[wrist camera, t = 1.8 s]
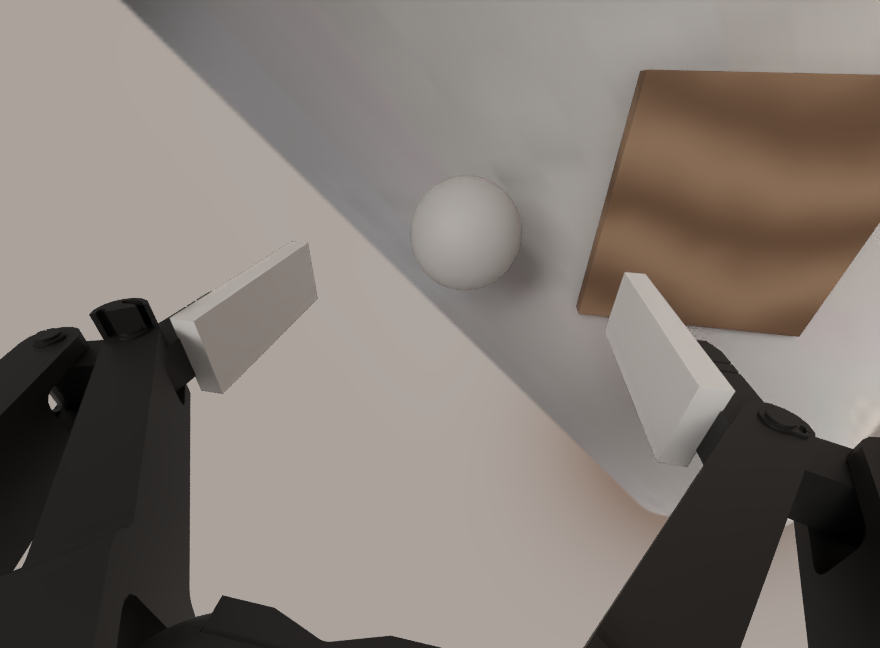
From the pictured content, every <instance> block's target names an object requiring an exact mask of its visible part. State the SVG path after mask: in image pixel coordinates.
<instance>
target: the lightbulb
mask: <svg viewBox="0 0 880 648" xmlns="http://www.w3.org/2000/svg"><path fill="white" fill-rule="evenodd" d="M521 233H522V232H521V222H520V217H519V214H518V211H517V208H516V206H515V204H514V203H513V201H512V199H511V198H510V197H509V195H508V194H507V193H506V192H505V191H504V190H503V189H502V188H500V187H499V186H497V185H496V184H495V183H493V182H491V181H488V180H486V179H484V178H480V177H475V176H457V177H453V178H449V179H447V180H444V181H442V182H440V183H438V184H437V185H435V186H434V187H433V188H431V189H430V190H429V191H428V192H427V193H426V195H425V196H424V197H423V198H422V199H421V200H420V202H419V204H418V205H417V207H416V209H415V212H414V215H413V218H412V223H411V231H410V237H411V245H412V249H413V253H414V255H415V258H416V260H417V262H418V264H419V265H420V267H421V268H422V269H423V271H424V272H425V273H426V274H427V275H428V276H429V277H430V278H431V279H433V280H434V281H436V282H437V283H439V284H441V285H443V286H446V287H448V288H452V289H457V290H472V289H478V288H481V287H484V286H487V285H488V284H490V283H492V282H494V281H496V280H497V279H498V278H499V277H501V276H502V275H503V274H504V273H505V272H506V271H507V270H508V268H509V267H510V266H511V264H512V263H513V261H514V259H515V257H516V255H517V253H518V250H519V247H520V244H521Z"/></svg>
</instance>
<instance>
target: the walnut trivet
mask: <svg viewBox="0 0 880 648" xmlns="http://www.w3.org/2000/svg"><path fill="white" fill-rule="evenodd" d="M879 223H880V75H859V74H814V73H769V72H724V71H679V70H643V71H640V74H639V78H638V82H637V85H636V89H635V93H634V96H633V100H632V104H631V107H630V111H629V115H628V118H627V122H626V126H625V129H624V133H623V137H622V140H621V144H620V148H619V151H618V155H617V159H616V162H615V166H614V170H613V173H612V177H611V181H610V184H609V188H608V192H607V196H606V199H605V203H604V207H603V210H602V214H601V218H600V221H599V225H598V229H597V232H596V236H595V240H594V243H593V247H592V251H591V254H590V258H589V262H588V265H587V269H586V273H585V276H584V280H583V284H582V287H581V291H580V295H579V298H578V302H577V306H576V307H577V310H578V313H579V314H587V315H597V316H606V317H610V314H611V311H612V308H613V305H614V302H615V299H616V296H617V293H618V290H619V287H620V284H621V281H622V278H623V275H624V272H629V273H640V274H646V275H647V277H648V278H649V279H650V281H651V282H652V283H653V284H654V286H655V287H656V288H657V290H658V291H659V292H660V294H661V295H662V296H663V298H664V299H665V300H666V301H667V303H668V304H669V305H670V307H671V308H672V309H673V311H674V312H675V313H676V314H677V316H678V317H679V318H680V320H681V321H682V322H683V324H684V325H692V326H702V327H712V328H721V329H731V330H740V331H750V332H759V333H769V334H779V335H788V336H798V337H799V336H800V335H801V333H802V332H803V330H804V329H805V328H806V326H807V325H808V323H809V322H810V321H811V319H812V318H813V316H814V315H815V313H816V312H817V311H818V309H819V308H820V306H821V305H822V304H823V302H824V301H825V299H826V298H827V296H828V295H829V294H830V292H831V291H832V289H833V288H834V287H835V285H836V284H837V282H838V281H839V279H840V278H841V277H842V275H843V274H844V272H845V271H846V269H847V268H848V267H849V265H850V264H851V262H852V261H853V260H854V258H855V257H856V255H857V254H858V252H859V251H860V250H861V248H862V247H863V245H864V244H865V243H866V241H867V240H868V238H869V237H870V235H871V234H872V233H873V231H874V230H875V228H876V227H877V225H878V224H879Z"/></svg>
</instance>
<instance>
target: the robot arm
mask: <svg viewBox="0 0 880 648" xmlns="http://www.w3.org/2000/svg"><path fill="white" fill-rule="evenodd" d="M317 299H318V297H317V291H316V286H315V280H314V275H313V269H312V263H311V257H310V251H309V246H308V243H304V242H294V241H291V242H290V243H288V244H287V245H285V246H283V247H282V248H280V249H279V250H277V251H276V252H274V253H272V254H271V255H269V256H268V257H266V258H265V259H263V260H261V261H260V262H258V263H256V264H255V265H253V266H252V267H250V268H248V269H247V270H245V271H244V272H242V273H240V274H239V275H237V276H236V277H234V278H233V279H231V280H229V281H228V282H226V283H224V284H223V285H221V286H220V287H218V288H216V289H215V290H213V291H211V292H208V293H207V294H205V295H203V296H202V297H200V298H199V299H197V301H194V302H192V303H191V304H189V305H187V307H184V308H183V309H181V310H179V311H178V312H176V313H175V314H173V315H171V316H170V317H168V318H167V319H165V320H163V321H162V322H160V323H158V322H157V320H156V318H155V316H154V314H153V312H152V310H151V307H150V305H149V303H148V301H147V300H144V299H142V298H129V299H122V300H117V301H113V302H110V303H107V304H104V305H102V306H100V307H98V308H96V309H95V310H93V311H92V312H91V313H90V314H89V315H90V317H91V319H92V320H93V322H94V323H95V325H96V327H97V329H98V331H99V332H100V334H101V336H102V337H103V339H104V340H98V341H86V340H85V338H84V337H83V335H82V333H81V332H80V330H79V329H78V328H74V327H61V328H52V329H47V330H46V331H45V330H44V331H40V332H38V333H37V334H35V335H33V336H31V337H29V338H27V339H25V340H24V341H22V342H21V343H19V344H18V345H17V346H16V347H15V348H13V349H12V350H11V351H10V352H9V353H7V354H6V355H5V356H4V357H3V358H2V359H0V648H440V647H436V646H432V645H427V644H423V643H419V642H415V641H411V640H407V639H402V638H398V637H394V636H384V637H374V638H364V639H354V640H345V641H335V642H325V641H322V640H320V639H318V638H317V637H315V636H314V635H313V634H311V633H309V632H308V631H307V630H305V629H304V628H303V627H301V626H300V625H298V624H297V623H296V622H294V621H293V620H291V619H290V618H288V617H287V616H286V615H284V614H283V613H281V612H280V611H278V610H277V609H275V608H273V607H268V606H264V605H260V604H256V603H252V602H248V601H244V600H239V599H235V598H231V597H227V596H223V595H222V597H221V599H220V600H219V602H218V604H217V605H216V607H215V609H214V611H213V612H212V613H211V614H206V615H202V616H197V617H195V614H194V611H193V608H192V604H191V600H190V591H189V562H190V559H189V558H190V555H189V554H190V553H189V552H190V548H189V547H190V546H189V545H190V542H189V541H190V391H189V389H188V387H187V385H186V384H187V383H188V382H189V381H190V380H191V379H193V378H194V377H196V379H197V381H198V384H199V386H200V388H201V390H202V391H208V392H214V393H221V394H223V393H224V392H225V391H226V390H227V389H228V388H229V387H230V386H231V385H232V384H233V383H234V382H235V381H236V380H237V379H238V378H239V377H240V376H241V375H242V374H243V373H244V372H245V371H246V370H247V369H248V368H249V367H250V366H251V365H252V364H253V363H254V362H255V361H256V360H257V359H258V358H259V357H260V356H261V355H262V354H263V353H264V352H265V351H266V350H267V349H268V348H269V347H270V346H271V345H272V344H273V343H274V342H275V341H276V340H277V339H278V338H279V337H280V336H281V335H282V334H283V333H284V332H285V331H286V330H287V329H288V328H289V327H290V326H291V325H292V324H293V323H294V322H295V321H296V320H297V319H298V318H299V317H300V316H301V315H302V314H303V313H304V312H305V311H306V310H307V309H308V308H309V307H310V306H311V305H312V304H313V303H314V302H315V301H316V300H317ZM605 333H606V335H607V338H608V340H609V343H610V345H611V348H612V350H613V353H614V355H615V358H616V360H617V363H618V366H619V368H620V371H621V373H622V376H623V378H624V381H625V383H626V386H627V388H628V391H629V393H630V396H631V398H632V401H633V403H634V406H635V408H636V411H637V413H638V416H639V418H640V421H641V423H642V426H643V428H644V431H645V433H646V436H647V438H648V441H649V443H650V446H651V448H652V451H653V453H654V456H655V458H656V461H657V462H659V463H665V464H672V465H678V466H684V467H687V466H688V465H689V463H690V462H691V460H692V459H693V457H694V455H695V454H696V452H697V453H698V455H699V457H700V459H701V461H702V463H703V465H704V466H703V467H702V469H701V470H700V472H699V473H698V475H697V476H696V478H695V479H694V481H693V482H692V484H691V485H690V487H689V488H688V489H687V491H686V493H685V494H684V496H683V497H682V499H681V500H680V502H679V503H678V505H677V506H676V508H675V510H674V511H673V513H672V514H671V516H670V517H669V519H668V520H667V522H666V523H665V525H664V526H663V528H662V529H661V531H660V532H659V534H658V535H657V537H656V539H655V540H654V541H653V543H652V544H651V546H650V547H649V549H648V551H647V552H646V553H645V555H644V557H643V558H642V560H641V561H640V563H639V564H638V566H637V567H636V569H635V570H634V572H633V573H632V575H631V576H630V578H629V579H628V581H627V582H626V584H625V586H624V587H623V589H622V590H621V591H620V593H619V594H618V596H617V597H616V599H615V600H614V602H613V604H612V605H611V607H610V608H609V610H608V611H607V613H606V614H605V616H604V617H603V619H602V620H601V622H600V623H599V625H598V626H597V628H596V629H595V631H594V632H593V634H592V635H591V637H590V638H589V640H588V641H587V643H586V645H585V646H584V647H583V648H740V647H741V645H742V642H743V639H744V637H745V634H746V631H747V628H748V626H749V623H750V620H751V617H752V615H753V612H754V609H755V606H756V604H757V601H758V598H759V595H760V592H761V590H762V587H763V584H764V582H765V579H766V576H767V573H768V571H769V568H770V565H771V562H772V560H773V557H774V554H775V551H776V548H777V546H778V543H779V540H780V538H781V535H782V532H783V529H784V527H785V524H786V521H787V518H789V519H791V520H794V527H795V536H796V544H797V552H798V562H799V570H800V578H801V588H802V596H803V605H804V614H805V622H806V631H807V640H808V648H880V437H868V438H866V439H863V440H862V441H861V442H860V443H859V444H858V445H857V446H856V447H855V448H854V449H851V448H848V447H845V446H841V445H838V444H835V443H832V442H829V441H826V440H823V439H820V438H817V437H815V432H814V431H813V430H812V429H811V427H810V426H809V425H808V424H807V423H806V422H805V421H803V420H802V419H801V418H799V417H798V416H797V415H795V414H793V413H791V412H789V411H787V410H786V409H783V408H781V407H778V406H775V405H773V404H769V403H764V402H763V401H762V400H761V398H760V397H759V396H758V395H757V394H756V392H755V391H754V390H753V389H752V388H751V386H750V385H749V384H748V383H747V382H746V380H745V379H744V378H743V377H742V376H741V374H738V371H737V370H736V368H735V367H734V366H733V365H731V362H730V361H729V360H728V359H727V358H726V356H725V355H724V354H723V353H722V352H721V351H720V350H719V349H717V348H716V347H714V346H713V345H711V344H710V343H708V342H707V341H701V340H696V339H695V338H694V337H693V335H692V334H691V333H690V331H689V330H688V329H687V327H686V326H685V325H684V324H683V322H682V321H681V320H680V318H679V317H678V316H677V314H676V313H675V312H674V311H673V309H672V308H671V307H670V305H669V304H668V303H667V301H666V300H665V299H664V298H663V296H662V295H661V294H660V292H659V291H658V290H657V288H656V287H655V286H654V284H653V283H652V282H651V281H650V279H649V278H648V277H647V275H646V274H640V273H629V272H624V275H623V278H622V281H621V284H620V287H619V290H618V293H617V296H616V299H615V302H614V305H613V308H612V311H611V314H610V317H609V320H608V323H607V326H606V329H605ZM49 394H50V395H51V396H52V398H53V399H54V400H55V401H56V403H57V406H56V407H55V408H54V409H53V410H51V408H50V406H49V403H48V395H49ZM32 540H33V541H32ZM31 542H32V543H31ZM30 543H31V547H30V549H29V552H28V555H27V558H26V560H25V562H24V564H23V566H22V568H20V569H17V570H15V571H13V570H14V569H15V567H16V566H17V564H18V562H19V561H20V559H21V558H22V556H23V554H24V553H25V551H26V550H27V548H28V547H29V545H30Z"/></svg>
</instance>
